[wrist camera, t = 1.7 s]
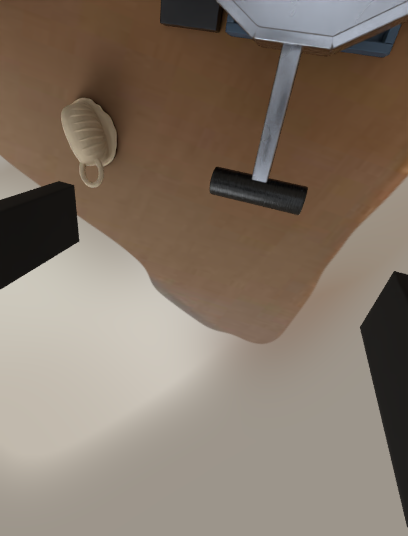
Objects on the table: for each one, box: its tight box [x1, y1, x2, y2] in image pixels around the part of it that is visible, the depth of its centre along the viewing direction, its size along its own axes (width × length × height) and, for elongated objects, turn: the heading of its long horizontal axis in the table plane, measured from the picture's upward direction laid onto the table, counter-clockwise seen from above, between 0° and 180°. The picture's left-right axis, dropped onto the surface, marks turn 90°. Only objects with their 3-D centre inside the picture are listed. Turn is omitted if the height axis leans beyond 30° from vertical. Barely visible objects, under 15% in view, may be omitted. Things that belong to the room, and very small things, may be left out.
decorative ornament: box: [61, 98, 117, 188], centre depth 30 cm, size 4×8×5 cm, turn 12°
